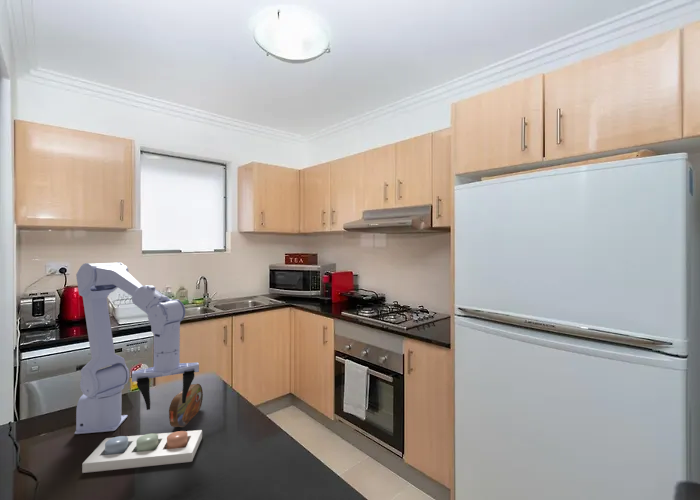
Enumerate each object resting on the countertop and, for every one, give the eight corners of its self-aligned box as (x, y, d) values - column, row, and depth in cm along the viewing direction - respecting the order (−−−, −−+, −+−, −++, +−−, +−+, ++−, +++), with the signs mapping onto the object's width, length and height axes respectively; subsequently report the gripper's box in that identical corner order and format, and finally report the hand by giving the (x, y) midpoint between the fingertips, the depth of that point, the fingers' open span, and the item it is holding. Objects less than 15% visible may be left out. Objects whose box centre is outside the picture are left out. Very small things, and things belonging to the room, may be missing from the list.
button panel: (82, 472, 74) (82, 463, 74) (105, 446, 84) (105, 438, 84) (192, 461, 78) (192, 452, 78) (202, 437, 88) (202, 429, 88)
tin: (178, 433, 90) (178, 401, 90) (166, 433, 90) (166, 401, 90) (203, 406, 105) (204, 379, 105) (193, 406, 105) (193, 379, 105)
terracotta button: (164, 452, 80) (164, 441, 80) (170, 441, 84) (170, 431, 84) (184, 450, 80) (184, 440, 80) (189, 439, 85) (189, 430, 85)
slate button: (101, 458, 77) (101, 447, 77) (110, 447, 81) (110, 436, 81) (122, 456, 78) (122, 445, 78) (131, 445, 82) (131, 435, 82)
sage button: (133, 455, 78) (133, 444, 78) (140, 444, 83) (140, 434, 83) (154, 453, 79) (154, 442, 79) (160, 442, 84) (160, 432, 84)
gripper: (130, 358, 78) (130, 418, 78) (200, 350, 85) (199, 405, 85) (133, 350, 84) (132, 405, 85) (197, 343, 91) (197, 394, 91)
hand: (166, 404), depth 85 cm, fingers open, 7 cm apart
